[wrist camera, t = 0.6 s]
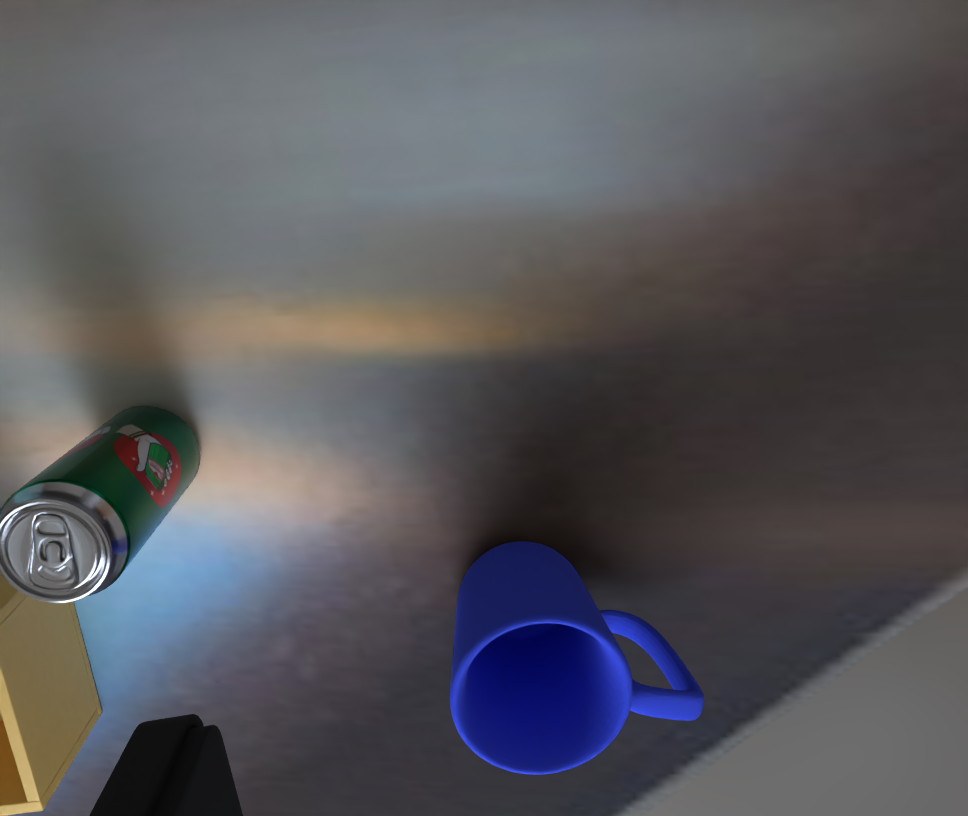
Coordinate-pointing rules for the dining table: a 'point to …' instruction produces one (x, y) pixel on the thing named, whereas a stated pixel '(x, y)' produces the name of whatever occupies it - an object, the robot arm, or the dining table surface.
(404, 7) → the dining table surface
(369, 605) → the dining table surface
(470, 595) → the mug
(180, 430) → the soda can
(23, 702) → the bin
